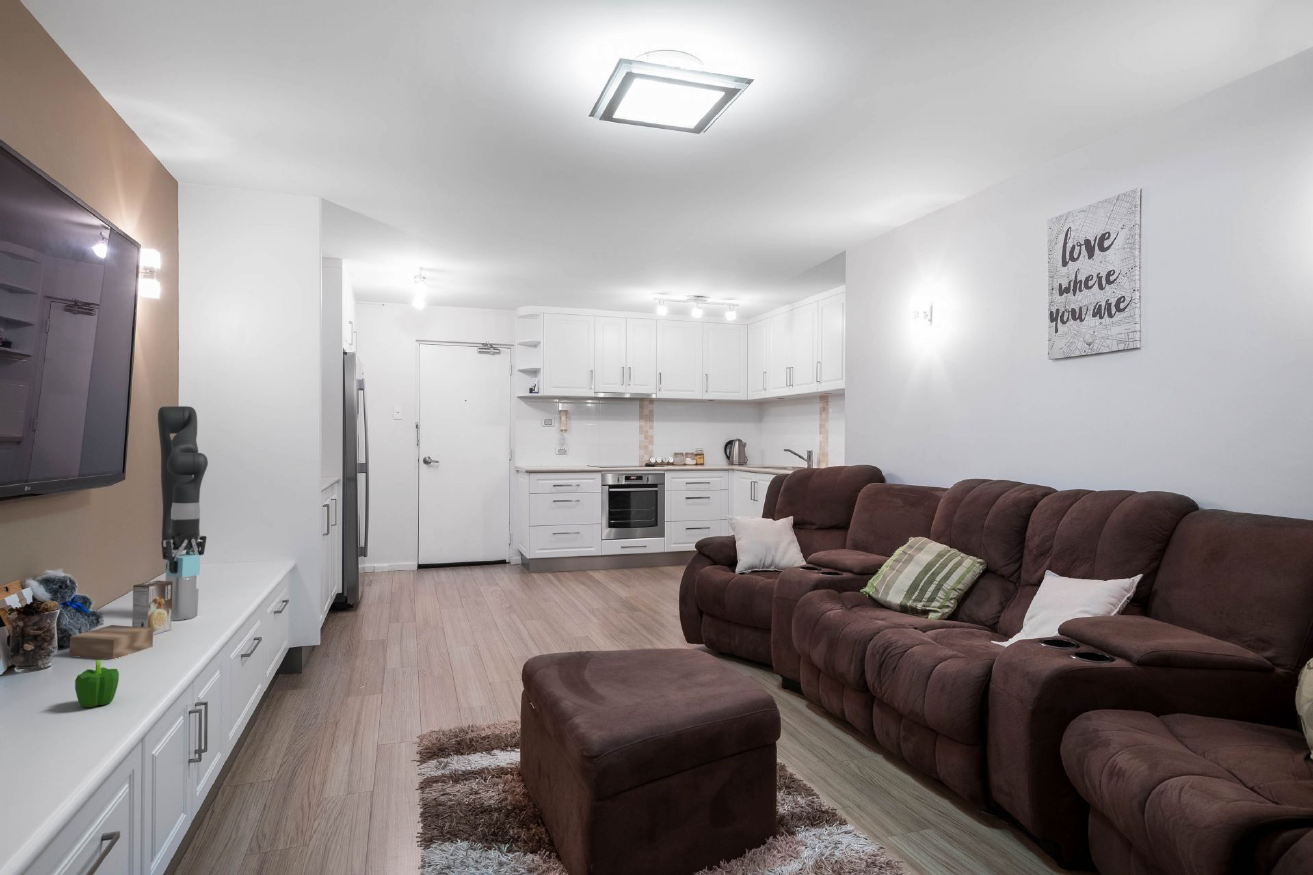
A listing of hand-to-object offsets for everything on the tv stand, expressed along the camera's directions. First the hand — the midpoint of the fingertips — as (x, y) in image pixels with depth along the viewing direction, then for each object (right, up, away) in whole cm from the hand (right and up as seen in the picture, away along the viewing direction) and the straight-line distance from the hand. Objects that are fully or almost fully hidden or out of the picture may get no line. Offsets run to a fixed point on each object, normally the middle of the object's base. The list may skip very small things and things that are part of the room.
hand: (183, 571), depth 229 cm
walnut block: (-15, -22, -10) cm, 28 cm away
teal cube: (0, -1, 0) cm, 1 cm away
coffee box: (-18, -22, +12) cm, 31 cm away
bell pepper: (+13, -23, -52) cm, 58 cm away
